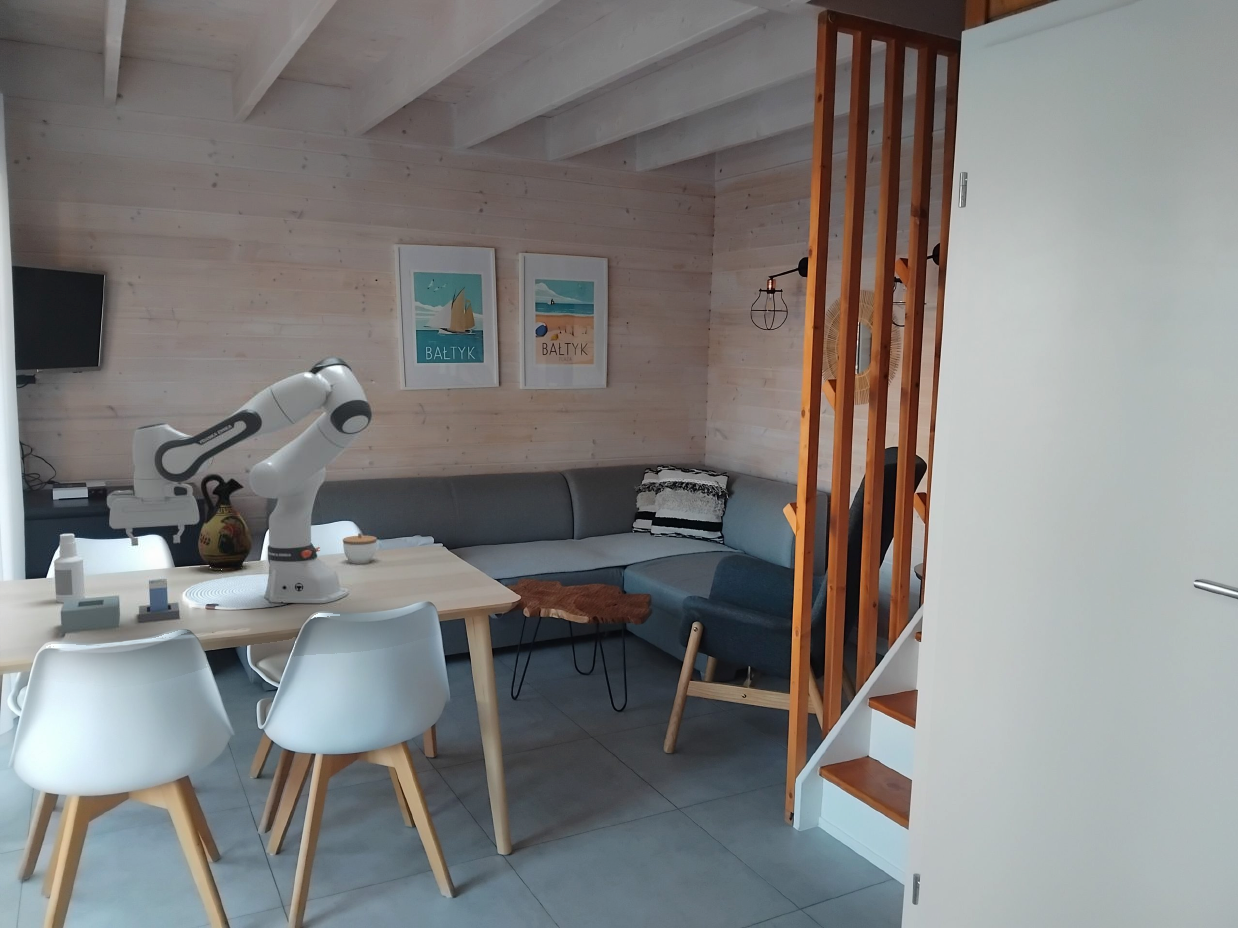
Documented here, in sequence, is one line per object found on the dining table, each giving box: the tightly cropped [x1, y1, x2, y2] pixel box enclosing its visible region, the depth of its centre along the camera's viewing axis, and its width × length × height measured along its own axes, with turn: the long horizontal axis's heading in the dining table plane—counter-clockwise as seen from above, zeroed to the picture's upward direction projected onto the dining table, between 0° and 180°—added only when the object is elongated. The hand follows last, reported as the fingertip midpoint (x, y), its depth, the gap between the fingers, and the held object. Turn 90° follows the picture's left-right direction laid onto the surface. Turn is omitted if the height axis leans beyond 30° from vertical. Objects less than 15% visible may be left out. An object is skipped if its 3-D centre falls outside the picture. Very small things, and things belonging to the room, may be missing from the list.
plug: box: [148, 578, 169, 612], centre depth 240 cm, size 4×4×9 cm
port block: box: [60, 594, 121, 637], centre depth 233 cm, size 12×12×6 cm
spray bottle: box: [53, 533, 86, 604], centre depth 259 cm, size 7×7×18 cm
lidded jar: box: [342, 533, 378, 565], centre depth 312 cm, size 11×11×9 cm
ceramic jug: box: [198, 473, 253, 572], centre depth 299 cm, size 17×15×30 cm
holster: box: [138, 602, 181, 624], centre depth 240 cm, size 9×9×3 cm
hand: (156, 543), depth 239 cm, fingers open, 8 cm apart
